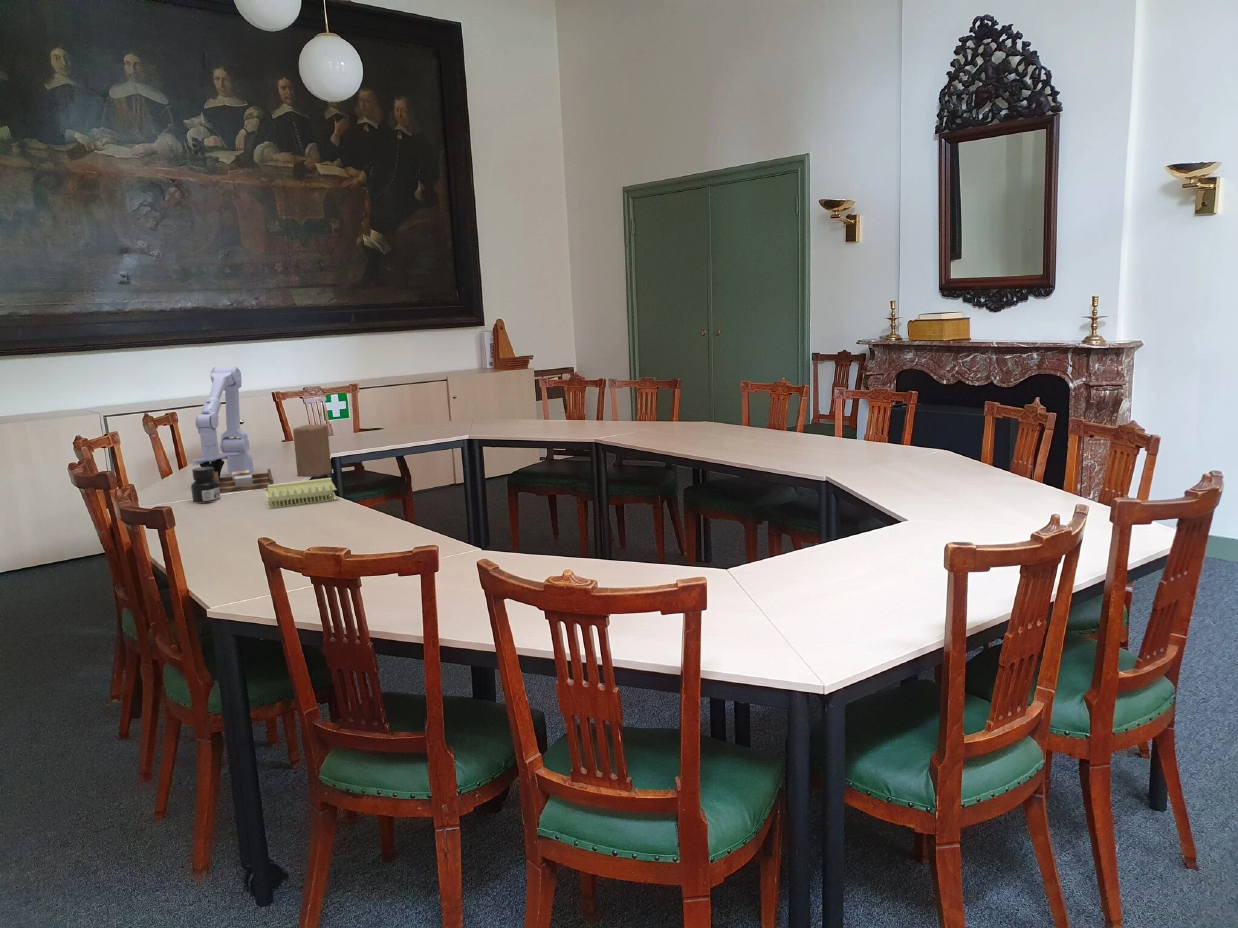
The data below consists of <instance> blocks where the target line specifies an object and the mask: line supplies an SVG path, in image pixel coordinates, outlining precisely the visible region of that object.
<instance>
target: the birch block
mask: <svg viewBox="0 0 1238 928" xmlns="http://www.w3.org/2000/svg"><path fill="white" fill-rule="evenodd" d="M244 475H250V473H249V470H245V471H237V472H232V478H233V481H235V478H234V477H235V476H244ZM213 479H215V480H216V481H217V482H218V483H219V476H218V471H215V472H214V478H213Z"/></svg>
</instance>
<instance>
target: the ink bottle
mask: <svg viewBox="0 0 1238 928" xmlns="http://www.w3.org/2000/svg"><path fill="white" fill-rule="evenodd" d="M191 471H192V478H193V482H192V483H191V485H190V489H191V497H192V503H196V504H197V505H205V504H212V503H216V502H217V501H218V500H220V499H221V493H220V491H219V483H218V482H217V481H216V480H215V479H213V478H214V469H213V467H201V466H200V467H195V468H192V469H191Z"/></svg>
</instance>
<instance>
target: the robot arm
mask: <svg viewBox="0 0 1238 928" xmlns="http://www.w3.org/2000/svg"><path fill="white" fill-rule="evenodd" d="M210 380H211V383H212V385H211V389H210V392H209V397H207V398H205V400H204V403H203V406H202V408H201V412H200V413H199V414H198V415H197V416H196V417H195V427H196V429H197V433H198V434H199V437H200V445H201V451H202V452H201V453H202V456H201V457H197V458H195V459H192V460H191V462H192V463H191V464H192V465H193V466H198V465H199V466H200V467H213V469H214V472H215V471H218V476H219V480H220V478H221V472H222V469H223V466H224V464H225V460H226V465H227V473H228V477H231V476H232V472H237V471H245V470H249V473H254V464H253V463H254V462H253V457H252V455H251V454H250V453H249V450H250V441H249V436H248V433H246V432H244V431H243V430H241V421H240V420H241V418H240V417H241V415H240V398H239V397H240V396H239V394H240V393H239V389H240V388H242V384H243V383H242V372H241V370H240V369H239V367H238V366H233V367H232V366H230V367H229V366H228V367H225V366H224V367H215V366H213V367H212V368H211V369H210ZM224 392H225V393H224ZM223 393H224V396H225V397H224V399H225V418H226V419H225V420H226V430H225V431H224V432H223V433H222V434H221V435H220V442H219V443H218V433H217V428H218V426H219V418H220V417H219V412H220V409H221V406H222V403H221V401H220V399H221V397H222V395H223ZM219 449H220V450H219ZM219 451H221V453H220V452H219Z"/></svg>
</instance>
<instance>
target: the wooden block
mask: <svg viewBox="0 0 1238 928" xmlns="http://www.w3.org/2000/svg"><path fill="white" fill-rule="evenodd" d="M328 431H329V430H328V426H327V425H325V424H305V425H301V426H298V427H295V428H293V430H292V432H293V433H292V435H293V443H294V444H293V445H294V451H295V453H294V454H295V462H296V470H297V471H296V473H297V477H322V476H324V475H326V476H327V475H330V474H331V473H332V462H331V452H330V442H329V441H330V440H329V432H328Z"/></svg>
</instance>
